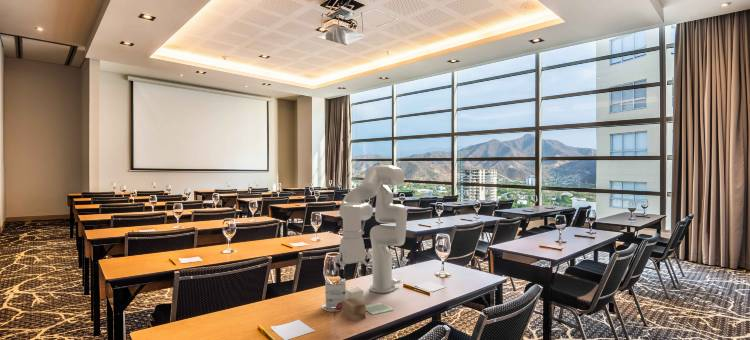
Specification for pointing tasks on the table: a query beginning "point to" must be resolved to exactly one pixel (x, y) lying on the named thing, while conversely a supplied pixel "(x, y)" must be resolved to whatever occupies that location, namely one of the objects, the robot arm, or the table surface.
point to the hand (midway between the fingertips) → (352, 276)
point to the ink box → (335, 294)
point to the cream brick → (355, 293)
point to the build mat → (378, 308)
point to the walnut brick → (354, 309)
